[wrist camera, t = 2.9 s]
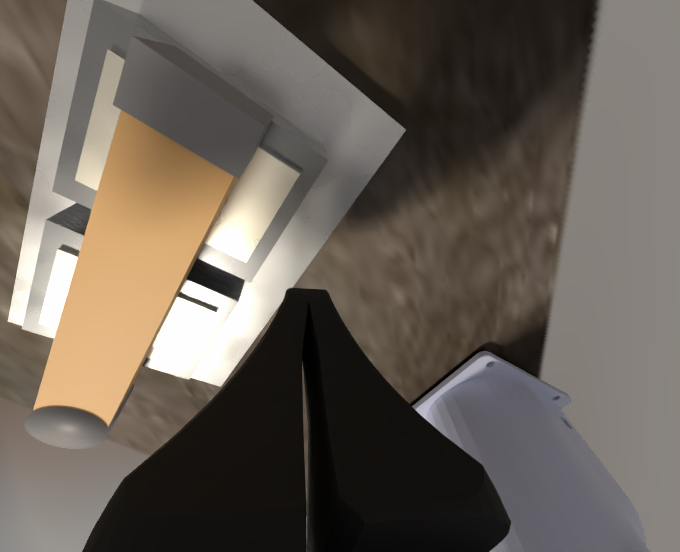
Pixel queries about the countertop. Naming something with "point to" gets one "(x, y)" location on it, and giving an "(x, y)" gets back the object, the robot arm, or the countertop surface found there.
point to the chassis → (247, 193)
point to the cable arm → (142, 233)
